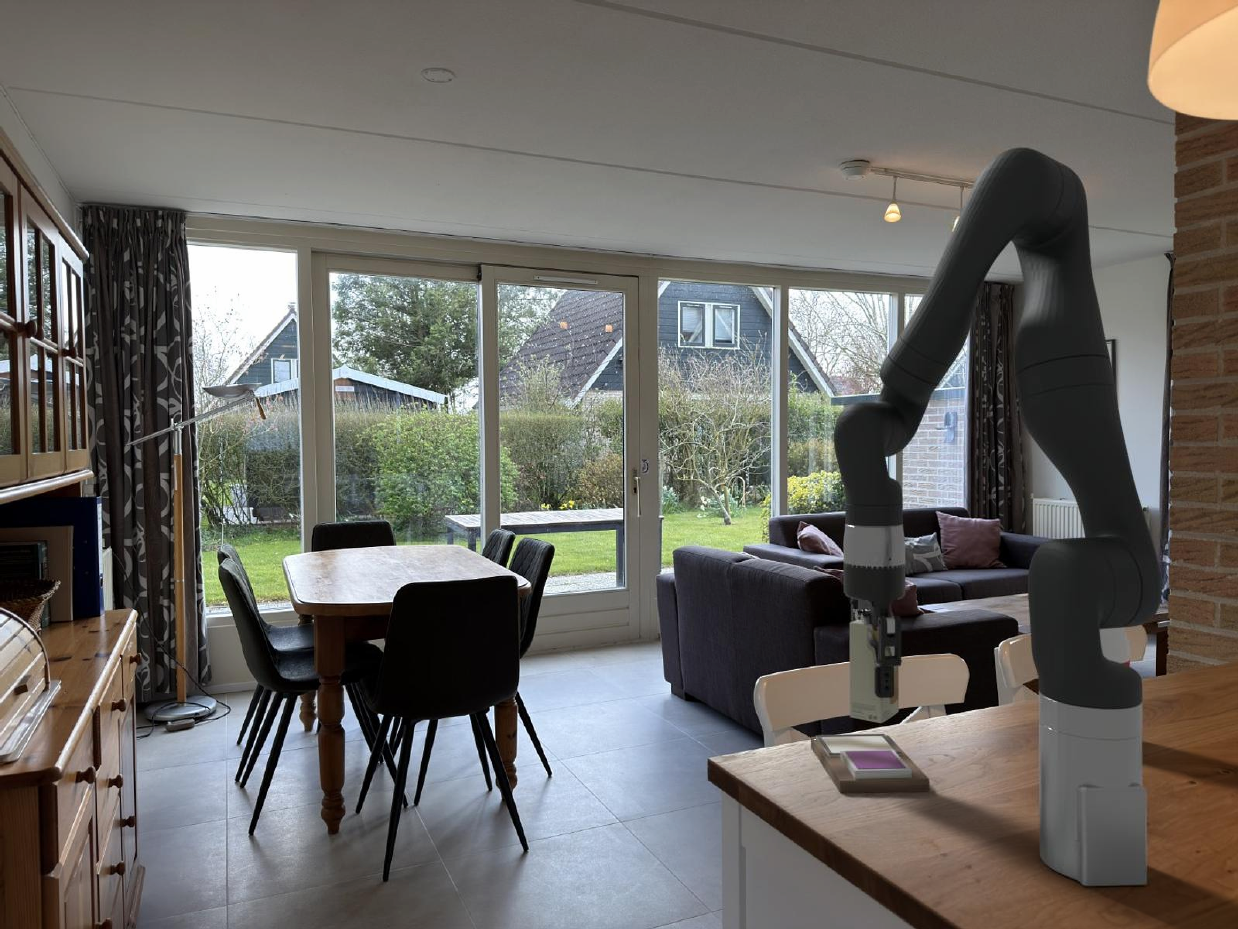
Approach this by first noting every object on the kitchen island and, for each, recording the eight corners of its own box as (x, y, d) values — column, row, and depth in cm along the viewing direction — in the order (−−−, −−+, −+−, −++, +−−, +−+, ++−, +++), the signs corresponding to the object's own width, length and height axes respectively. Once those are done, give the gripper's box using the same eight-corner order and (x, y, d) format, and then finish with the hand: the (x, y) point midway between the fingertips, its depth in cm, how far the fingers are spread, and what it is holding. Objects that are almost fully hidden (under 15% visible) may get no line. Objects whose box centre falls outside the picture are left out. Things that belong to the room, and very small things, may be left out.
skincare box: (882, 725, 108) (881, 626, 107) (848, 718, 110) (847, 622, 110) (900, 711, 113) (900, 617, 112) (868, 705, 115) (867, 613, 115)
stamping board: (929, 791, 107) (929, 770, 107) (840, 793, 107) (839, 772, 107) (888, 745, 123) (888, 727, 123) (810, 747, 123) (810, 729, 123)
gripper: (923, 567, 104) (924, 704, 104) (886, 551, 118) (887, 672, 118) (860, 568, 104) (861, 705, 104) (830, 552, 118) (832, 673, 118)
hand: (875, 687), depth 111 cm, fingers closed on skincare box, 7 cm apart
